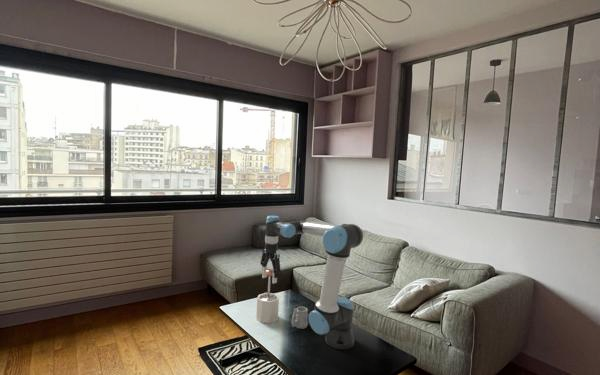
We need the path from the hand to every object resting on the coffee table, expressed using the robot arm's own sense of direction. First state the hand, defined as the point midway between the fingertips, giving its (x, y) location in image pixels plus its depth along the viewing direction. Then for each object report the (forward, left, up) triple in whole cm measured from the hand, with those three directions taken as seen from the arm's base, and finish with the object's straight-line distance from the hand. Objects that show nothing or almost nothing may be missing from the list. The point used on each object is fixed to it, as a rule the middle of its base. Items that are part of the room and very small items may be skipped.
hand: (269, 280), depth 195 cm
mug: (-18, -9, -23) cm, 31 cm away
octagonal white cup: (+2, 0, -23) cm, 23 cm away
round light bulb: (0, 0, -12) cm, 12 cm away
